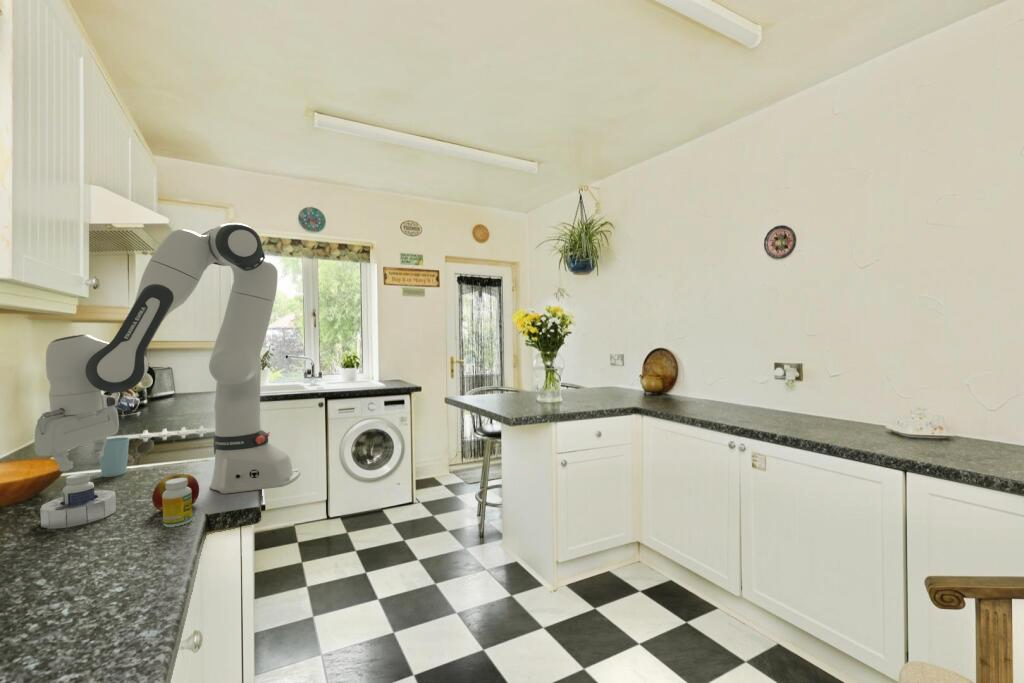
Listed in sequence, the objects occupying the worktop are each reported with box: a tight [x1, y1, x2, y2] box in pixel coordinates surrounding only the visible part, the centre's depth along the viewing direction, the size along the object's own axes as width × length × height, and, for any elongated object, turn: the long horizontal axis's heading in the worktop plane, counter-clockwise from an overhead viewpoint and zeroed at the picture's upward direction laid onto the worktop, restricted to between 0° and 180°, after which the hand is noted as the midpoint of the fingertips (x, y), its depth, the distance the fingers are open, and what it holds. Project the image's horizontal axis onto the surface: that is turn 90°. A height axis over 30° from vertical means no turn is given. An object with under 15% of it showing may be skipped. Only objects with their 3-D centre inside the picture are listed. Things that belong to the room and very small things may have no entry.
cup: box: [98, 436, 130, 478], centre depth 140 cm, size 8×8×10 cm
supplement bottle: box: [162, 478, 194, 528], centre depth 103 cm, size 5×5×10 cm
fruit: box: [151, 473, 200, 512], centre depth 111 cm, size 10×9×8 cm
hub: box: [39, 489, 117, 530], centre depth 107 cm, size 12×12×4 cm
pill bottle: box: [62, 472, 95, 505], centre depth 107 cm, size 5×5×10 cm
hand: (83, 463), depth 108 cm, fingers open, 8 cm apart
